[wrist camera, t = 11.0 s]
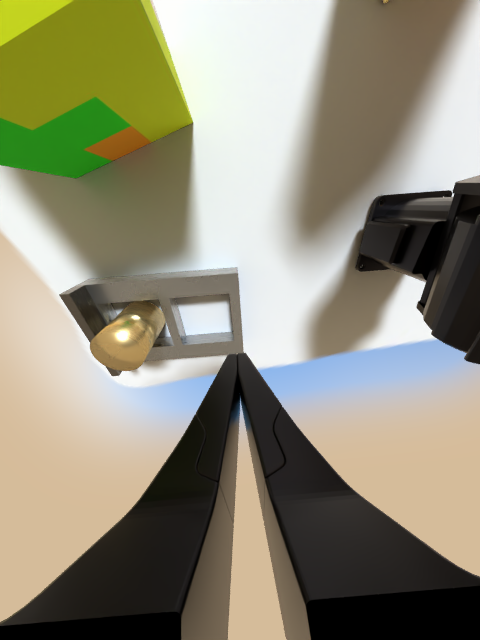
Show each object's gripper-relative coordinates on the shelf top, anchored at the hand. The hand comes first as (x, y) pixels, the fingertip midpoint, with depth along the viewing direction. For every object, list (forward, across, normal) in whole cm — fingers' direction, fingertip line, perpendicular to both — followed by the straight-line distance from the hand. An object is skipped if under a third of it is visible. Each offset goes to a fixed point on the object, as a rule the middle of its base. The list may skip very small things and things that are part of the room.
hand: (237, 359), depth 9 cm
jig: (+12, +7, +4) cm, 14 cm away
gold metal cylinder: (+12, +10, +4) cm, 16 cm away
